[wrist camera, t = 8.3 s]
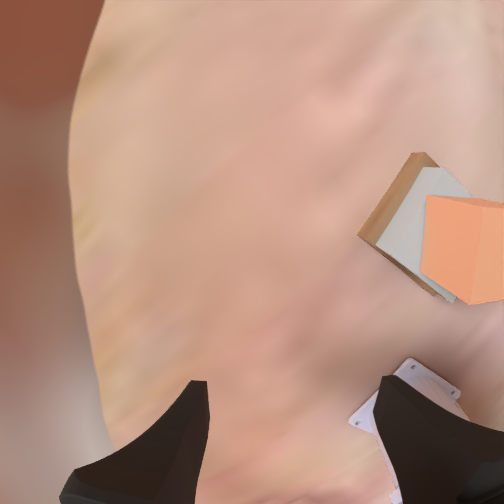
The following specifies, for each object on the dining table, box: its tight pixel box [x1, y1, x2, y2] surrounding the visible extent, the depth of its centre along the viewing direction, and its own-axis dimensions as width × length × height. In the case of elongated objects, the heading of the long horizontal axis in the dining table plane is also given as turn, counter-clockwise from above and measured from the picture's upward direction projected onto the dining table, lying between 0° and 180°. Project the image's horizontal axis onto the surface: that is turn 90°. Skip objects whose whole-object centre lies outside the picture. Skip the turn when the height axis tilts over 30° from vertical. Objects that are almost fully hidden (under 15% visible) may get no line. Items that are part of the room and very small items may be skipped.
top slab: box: [376, 167, 473, 303], centre depth 17 cm, size 6×6×2 cm
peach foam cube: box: [420, 195, 504, 305], centre depth 14 cm, size 4×4×5 cm
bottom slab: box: [357, 152, 440, 296], centre depth 20 cm, size 7×7×2 cm
